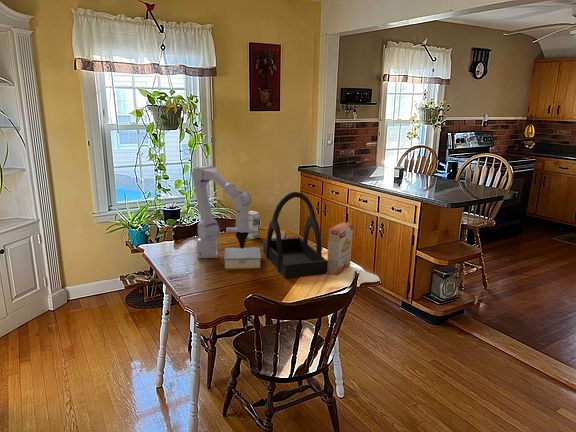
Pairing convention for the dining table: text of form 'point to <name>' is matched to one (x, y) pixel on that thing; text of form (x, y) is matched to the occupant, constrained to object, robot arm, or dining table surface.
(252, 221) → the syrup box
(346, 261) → the cracker box
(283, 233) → the packaged product
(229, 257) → the lid
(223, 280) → the dining table surface
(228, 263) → the box
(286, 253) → the basket
